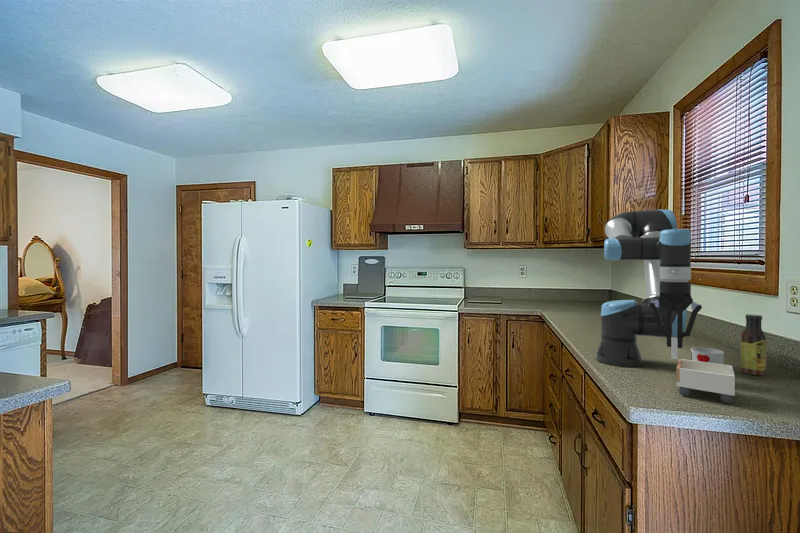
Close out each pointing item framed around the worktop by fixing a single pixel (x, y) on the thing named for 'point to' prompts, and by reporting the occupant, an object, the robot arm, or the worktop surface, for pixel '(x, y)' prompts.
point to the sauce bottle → (753, 347)
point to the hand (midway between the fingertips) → (674, 357)
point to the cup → (707, 355)
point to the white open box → (706, 378)
